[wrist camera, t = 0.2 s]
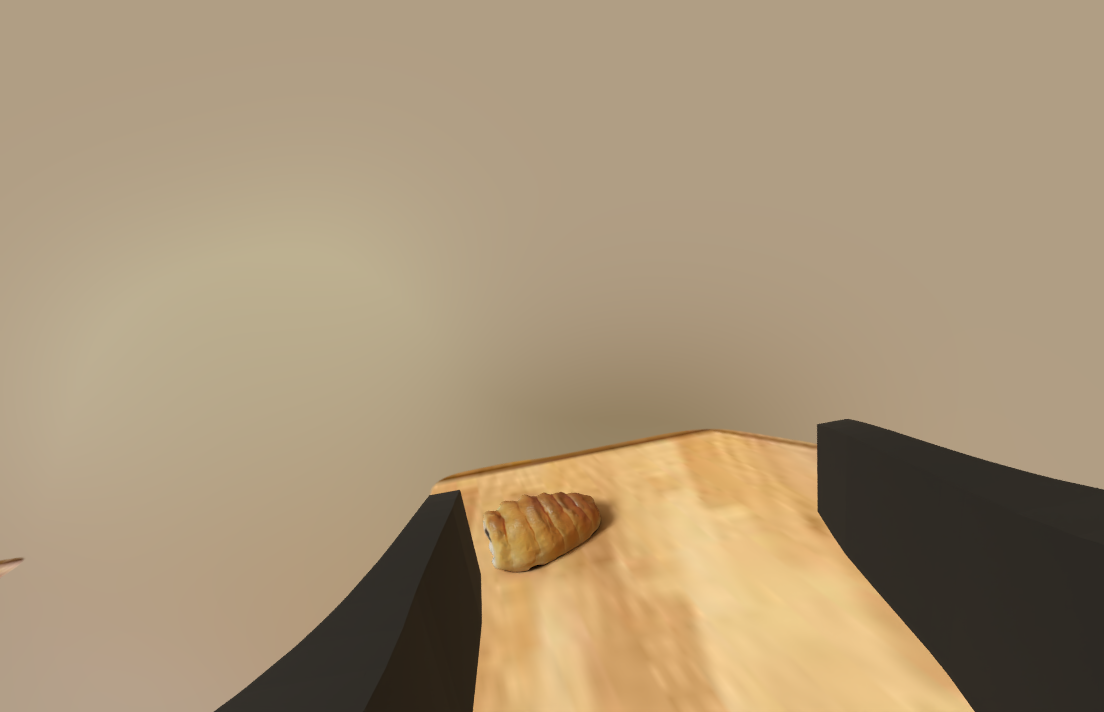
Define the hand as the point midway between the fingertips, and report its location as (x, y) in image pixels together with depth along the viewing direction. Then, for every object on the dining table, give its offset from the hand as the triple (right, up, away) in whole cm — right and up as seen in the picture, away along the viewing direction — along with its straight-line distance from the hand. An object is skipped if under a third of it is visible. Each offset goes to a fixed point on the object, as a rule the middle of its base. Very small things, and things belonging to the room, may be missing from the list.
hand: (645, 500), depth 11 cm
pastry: (-3, -12, +35) cm, 37 cm away
